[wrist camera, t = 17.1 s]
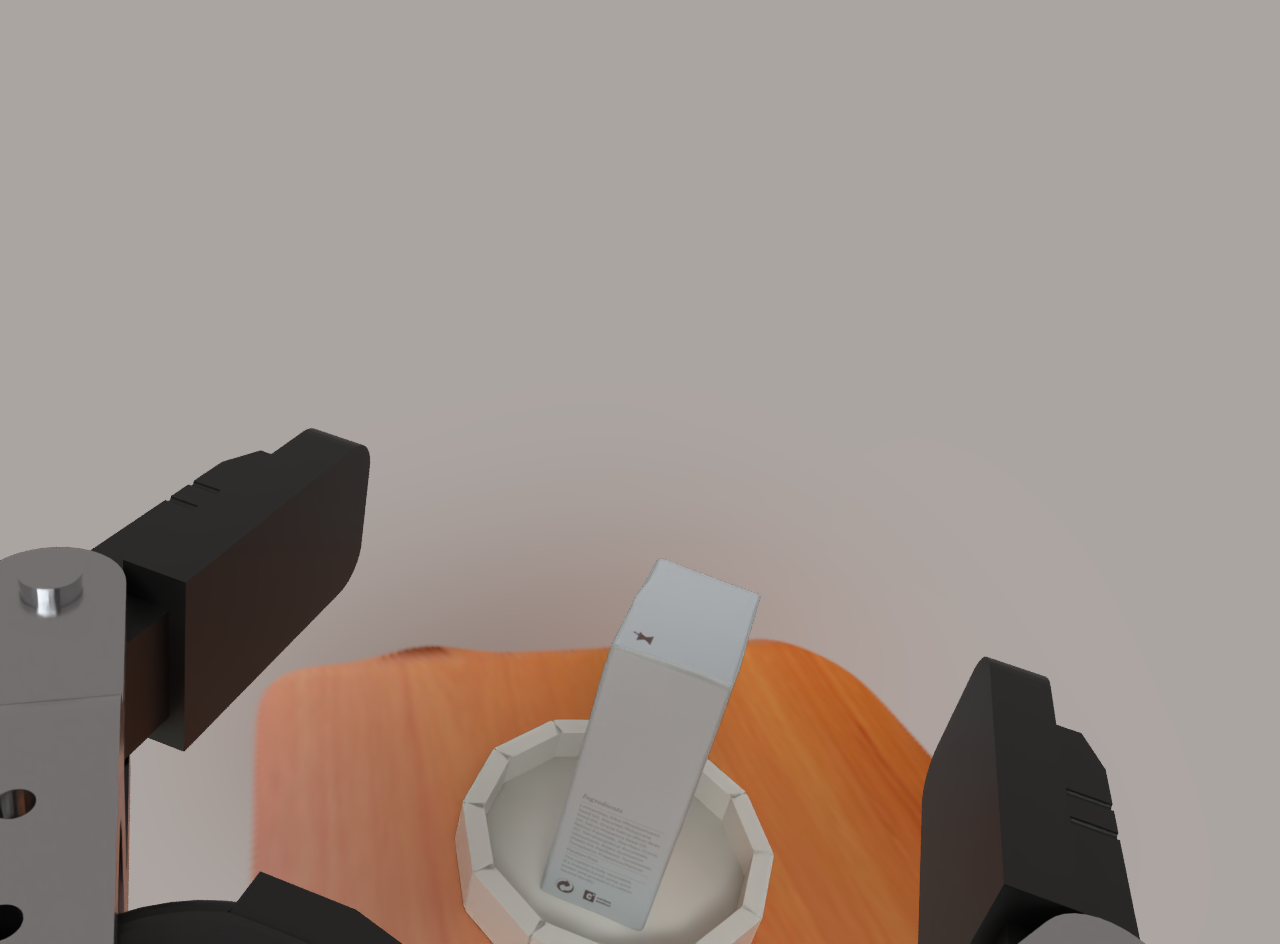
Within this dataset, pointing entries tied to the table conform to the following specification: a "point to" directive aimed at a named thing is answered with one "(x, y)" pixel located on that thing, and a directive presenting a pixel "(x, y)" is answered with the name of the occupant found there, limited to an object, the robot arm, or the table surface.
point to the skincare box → (648, 741)
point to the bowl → (525, 829)
